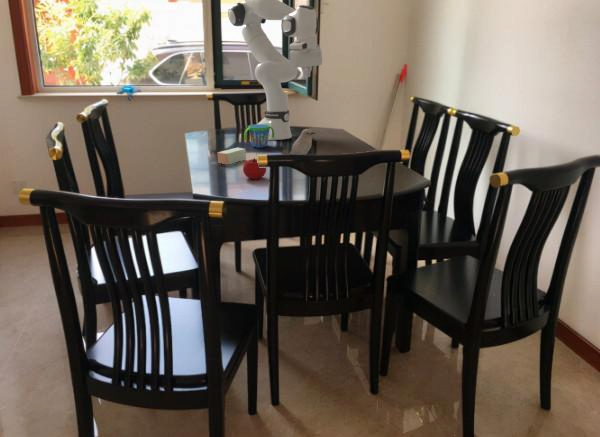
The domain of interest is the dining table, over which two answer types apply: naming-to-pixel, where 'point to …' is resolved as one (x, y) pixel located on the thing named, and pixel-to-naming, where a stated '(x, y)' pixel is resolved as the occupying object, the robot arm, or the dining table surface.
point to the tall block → (231, 155)
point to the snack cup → (258, 135)
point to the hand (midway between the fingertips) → (306, 77)
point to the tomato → (253, 169)
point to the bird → (303, 142)
